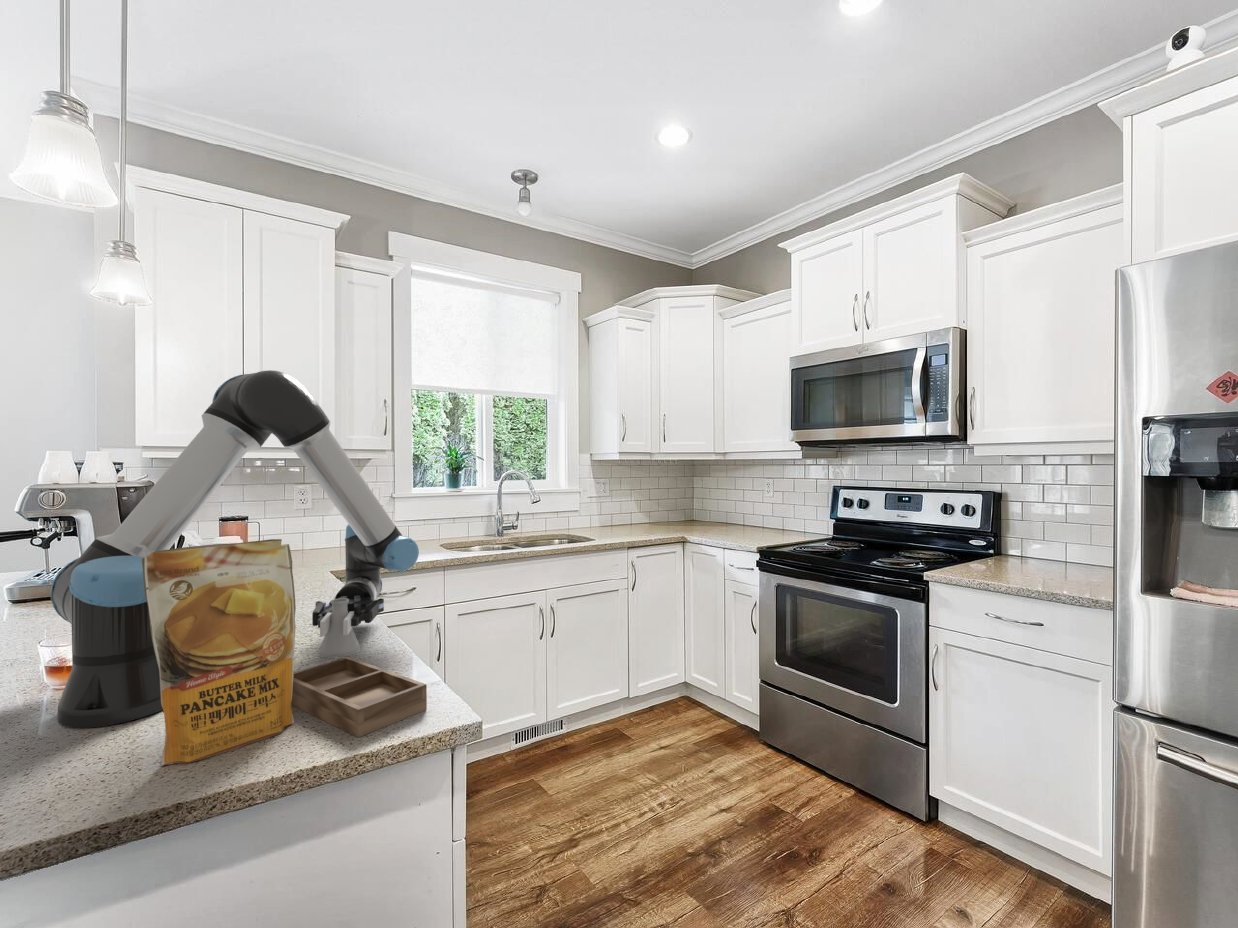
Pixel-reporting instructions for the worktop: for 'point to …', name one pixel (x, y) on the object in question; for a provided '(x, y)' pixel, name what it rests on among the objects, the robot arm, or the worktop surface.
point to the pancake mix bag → (222, 644)
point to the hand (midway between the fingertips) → (334, 628)
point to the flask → (339, 633)
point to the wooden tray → (357, 695)
